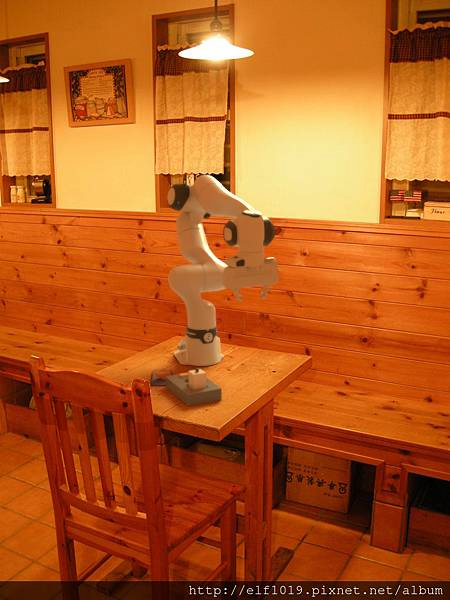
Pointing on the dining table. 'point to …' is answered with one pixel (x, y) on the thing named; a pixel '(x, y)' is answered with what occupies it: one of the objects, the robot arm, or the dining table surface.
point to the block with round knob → (197, 379)
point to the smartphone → (160, 377)
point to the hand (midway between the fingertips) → (251, 299)
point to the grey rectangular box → (192, 397)
